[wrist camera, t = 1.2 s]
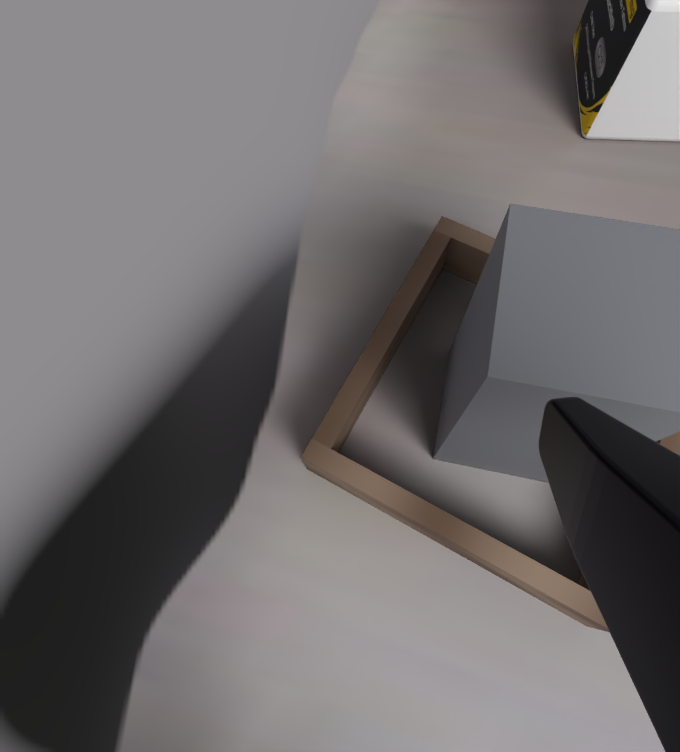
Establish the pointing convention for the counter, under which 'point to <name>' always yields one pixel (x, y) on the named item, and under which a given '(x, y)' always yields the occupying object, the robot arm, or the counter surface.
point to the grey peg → (563, 336)
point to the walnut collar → (466, 259)
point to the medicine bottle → (629, 70)
